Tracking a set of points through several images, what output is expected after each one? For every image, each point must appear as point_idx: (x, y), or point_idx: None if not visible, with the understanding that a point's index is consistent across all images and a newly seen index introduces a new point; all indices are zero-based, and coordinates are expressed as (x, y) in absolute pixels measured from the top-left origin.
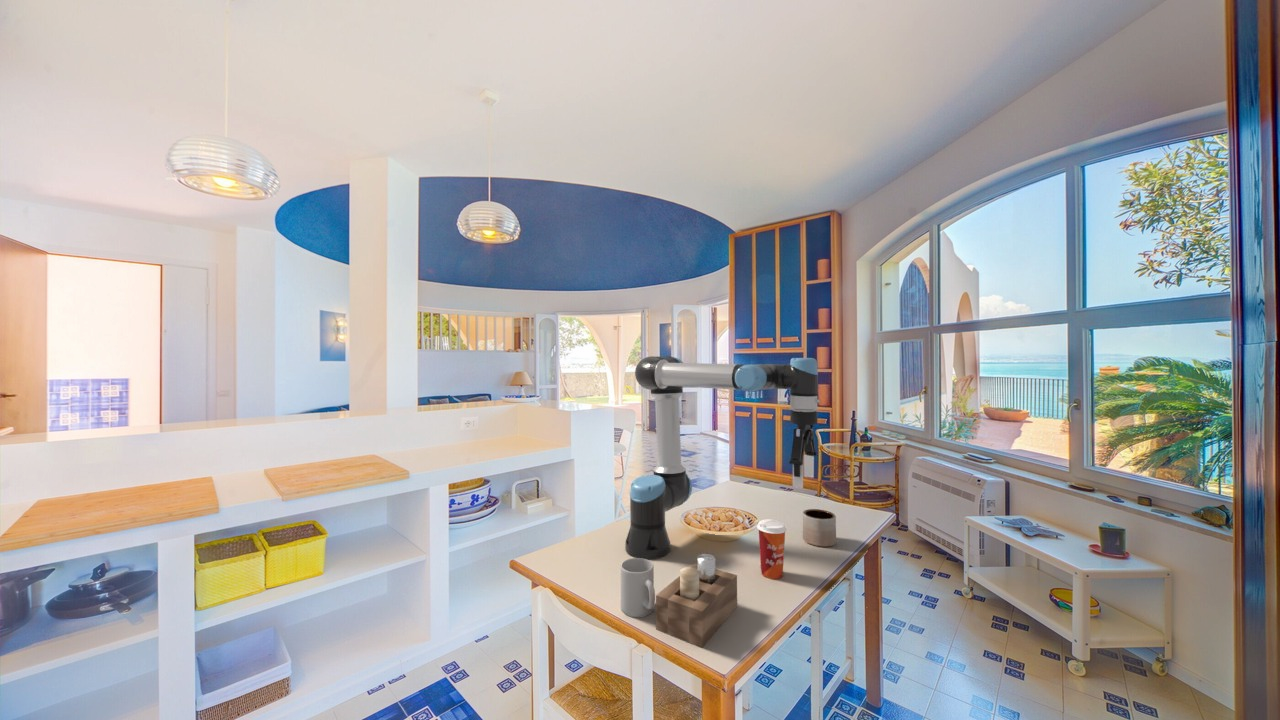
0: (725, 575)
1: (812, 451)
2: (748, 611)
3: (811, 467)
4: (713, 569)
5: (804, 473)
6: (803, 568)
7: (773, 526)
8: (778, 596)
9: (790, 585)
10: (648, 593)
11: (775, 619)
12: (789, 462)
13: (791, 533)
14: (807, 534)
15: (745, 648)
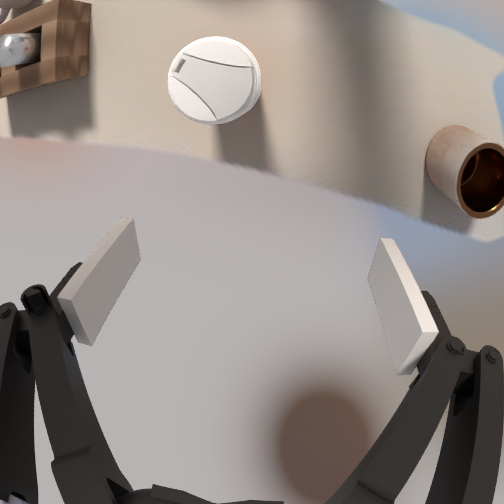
0: (45, 66)
1: (399, 405)
2: (85, 95)
3: (383, 310)
4: (12, 65)
5: (384, 249)
6: (300, 132)
7: (186, 93)
8: (152, 116)
9: None
10: (1, 7)
11: (90, 136)
12: (24, 291)
13: (474, 101)
14: (444, 139)
15: (27, 133)
